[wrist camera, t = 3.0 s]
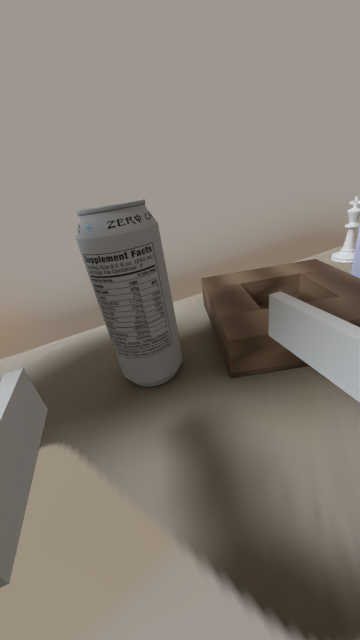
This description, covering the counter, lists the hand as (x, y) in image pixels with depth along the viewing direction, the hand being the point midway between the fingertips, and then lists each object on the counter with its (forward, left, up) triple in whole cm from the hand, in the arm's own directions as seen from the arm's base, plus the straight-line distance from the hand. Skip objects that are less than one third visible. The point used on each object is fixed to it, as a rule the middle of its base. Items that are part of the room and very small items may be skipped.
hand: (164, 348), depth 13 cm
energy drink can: (-2, +9, -8) cm, 12 cm away
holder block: (+13, +14, -8) cm, 20 cm away
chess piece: (+32, +31, -8) cm, 45 cm away
